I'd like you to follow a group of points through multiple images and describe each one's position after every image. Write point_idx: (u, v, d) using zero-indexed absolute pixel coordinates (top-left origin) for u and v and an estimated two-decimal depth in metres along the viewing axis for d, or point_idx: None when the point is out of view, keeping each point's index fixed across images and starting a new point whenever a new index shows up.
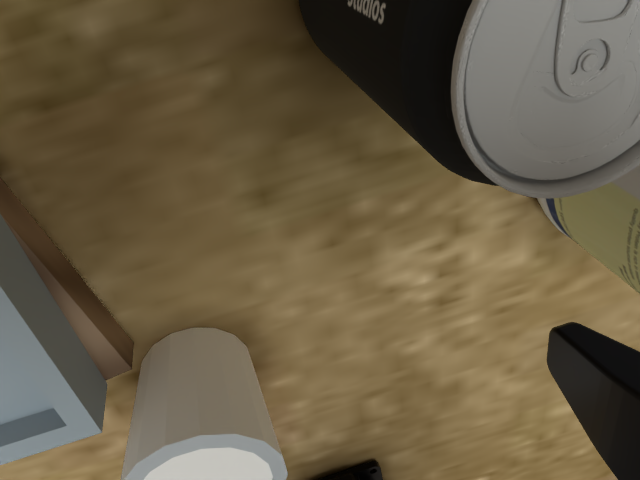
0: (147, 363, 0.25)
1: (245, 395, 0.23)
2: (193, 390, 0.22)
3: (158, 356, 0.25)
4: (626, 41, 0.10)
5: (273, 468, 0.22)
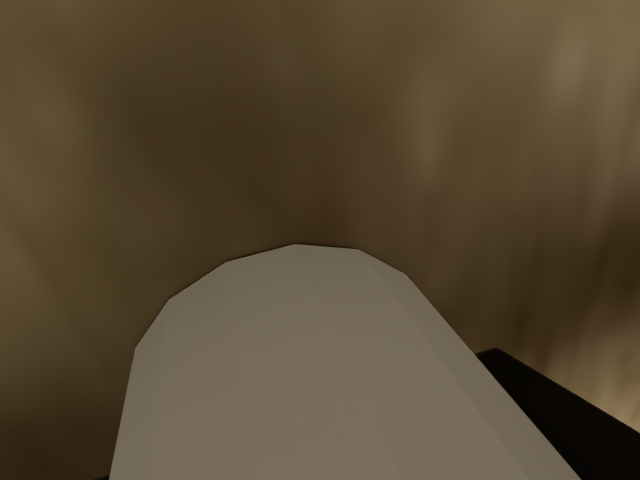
0: None
1: None
2: None
3: None
4: None
5: None
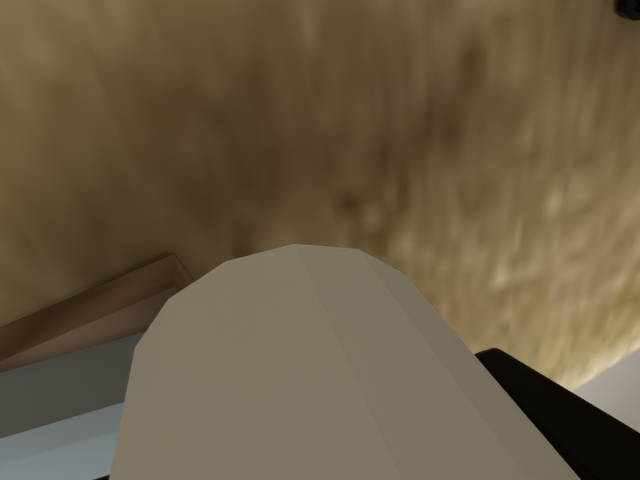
0: None
1: None
2: None
3: None
4: None
5: None
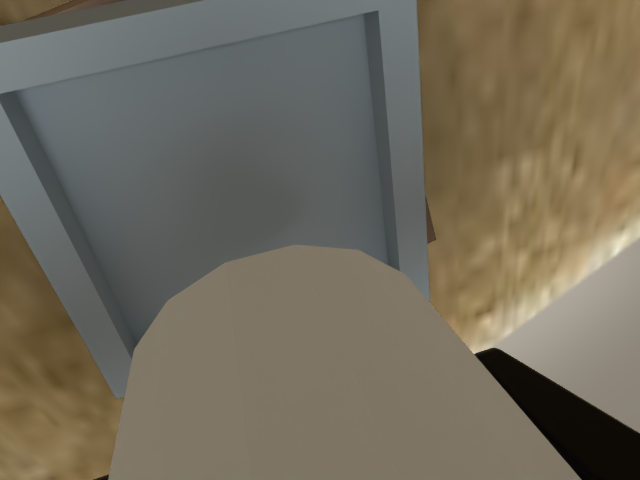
0: None
1: None
2: None
3: None
4: None
5: None
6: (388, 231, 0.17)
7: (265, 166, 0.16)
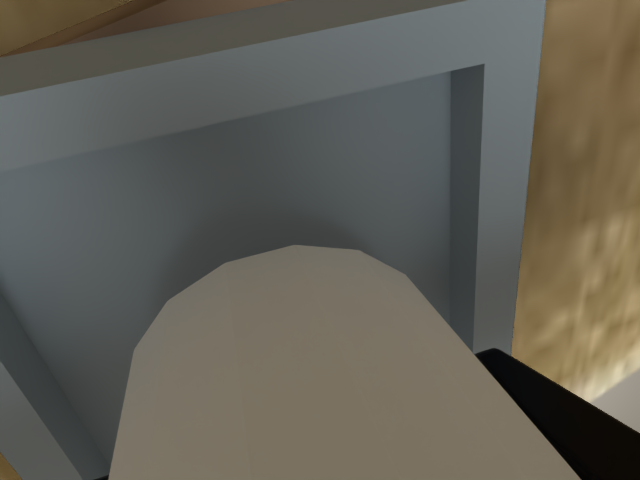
0: None
1: None
2: None
3: None
4: None
5: None
6: None
7: None
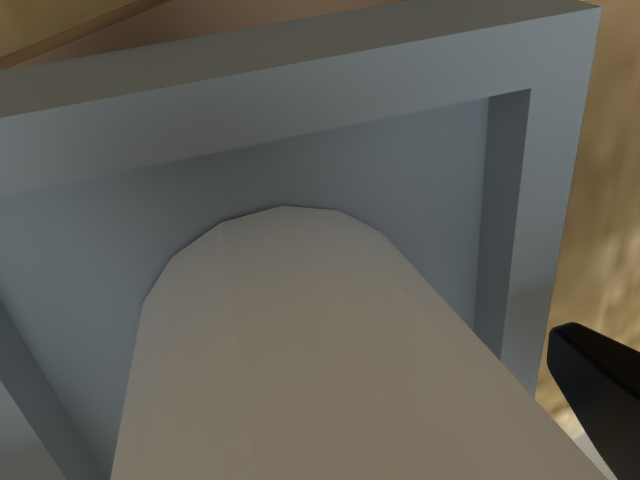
0: None
1: None
2: None
3: None
4: None
5: None
6: None
7: None
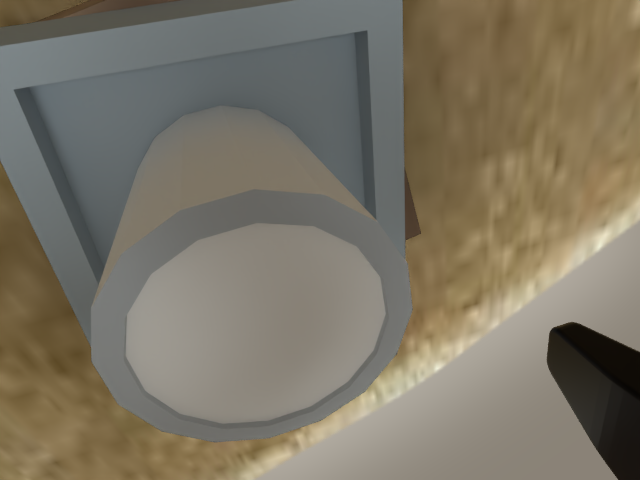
0: None
1: (130, 211, 0.12)
2: None
3: None
4: None
5: (217, 227, 0.09)
6: None
7: None
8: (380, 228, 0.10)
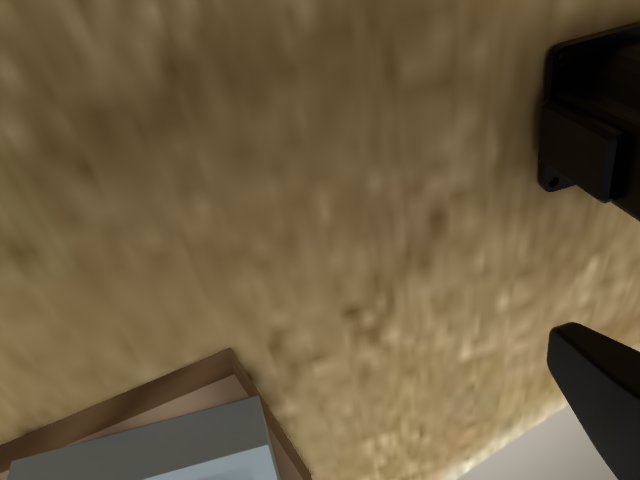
0: None
1: None
2: None
3: None
4: None
5: None
6: None
7: None
8: None
